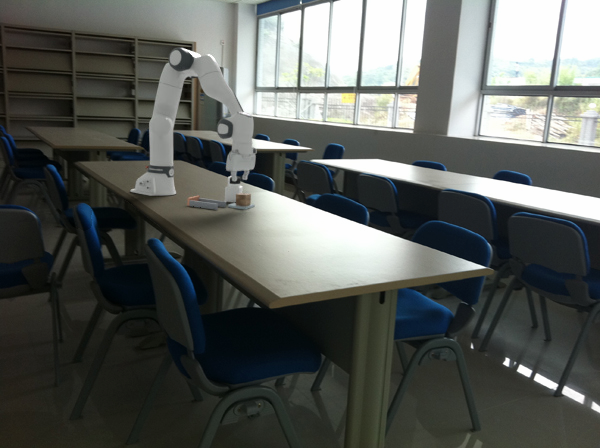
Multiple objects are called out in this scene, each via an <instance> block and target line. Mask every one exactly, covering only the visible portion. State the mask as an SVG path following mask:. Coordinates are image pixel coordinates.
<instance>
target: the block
mask: <svg viewBox="0 0 600 448" xmlns="http://www.w3.org/2000/svg"><path fill="white" fill-rule="evenodd" d="M251 195H252V194H251V193H246V192H242V193H238V194H236V205H239V206H248V205H250V204H252V203H251V202H252V201H251V200H252V198H251V197H252V196H251Z"/></svg>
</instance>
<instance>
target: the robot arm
mask: <svg viewBox="0 0 600 448" xmlns="http://www.w3.org/2000/svg"><path fill="white" fill-rule="evenodd" d="M187 78H189V79H198V81H199V84H200V87H201V89H202V90H203V92H204V94H205V95H206V96H208V97H209V98H211V99H214V100H216V101H217V102H220V103H221V104H223V105H224V106H225V107H226V108H227V110H228V111H229V113H230V116H228V117H225V118H221V119H220V120H219V121H218V123H217V125H216V133H217V135H218V137H219V138H220V139H222V140H225V141H226V140H227V141H231V142H232V144H231V150H230V151H229V153H228V154H227V158H226V165H225V169H226V170H225V171H227V172H230V176H232V181H237V177H236V176H237V172H242V171H243V175H242V180H245V181H247V180H248V176H249V174H250V171H252V170H254V169H255V165H256V158H257V157H256V156H257V155H256V154H257V151H258V150H257V148H256V147H254V145H253V135H254V127H255V126H254V124H255V123H254V118H253V115H252V114H250V113H248V112H245V111H244V109H243V107H242V105H241V103H240V101H239V99H238V97H237V95H236V93H235V92H234V91H233V90H232V88H231V87H230V86H229V84H228V82H227V81H226V79H225V77H224V75H223V72H222V69H221V68H220V65H219V63H218V62H217V60H216V58H215V57H214V56H212V55H211V54H203V55H201V54H200V53H197V52H196V51H193V50H190V49H186V48H184V47H174V48H173V49H172V50H171V51H170V53H169V54H168V62H166V63H165V65H164V67H163V69H162V72H161V75H160V77H159V81H158V87H157V90H156V95H155V99H154V106H153V112H152V117H151V119H150V120H149V124H148V126H149V127H148V129H149V132H148V134H149V135H148V137H149V164H148V165H145V168H146V169H147V170H146V172H145V173H144V174H142V175H141V176H140V177H138V178H137V179H136V180H135V188H132V189H130V193H135V194H140V195H144V196H150V197H151V196H173V195H176V194H177V191H176V188H175V180H174V175H175V165H174V128H175V123H176V120H177V119H176V117H177V113H178V109H179V104H180V101H181V96H182V91H183V88H184V87H183V86H184V83H185V80H186V79H187Z"/></svg>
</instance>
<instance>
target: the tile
mask: <svg viewBox="0 0 600 448" xmlns="http://www.w3.org/2000/svg"><path fill="white" fill-rule="evenodd" d="M254 207H255V204H254V203H250V205H248V206H239V205H236V203H235V202H232V203H230V204H227V208H233V209H240V210H248V209H252V208H254Z"/></svg>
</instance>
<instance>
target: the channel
mask: <svg viewBox="0 0 600 448" xmlns="http://www.w3.org/2000/svg"><path fill="white" fill-rule="evenodd" d="M227 203H228V202H226V201H225V200H219V199H218V200H217V199H212V198H211V199H210V198H203V197H202V198H201V197H200V195H195V196H190V197H187V206H188V207H193V206H194V207H195V208H200V207H201V209H209V210H216V211H217V210H218V209H219V208H227V205H228V204H227ZM218 211H219V210H218Z"/></svg>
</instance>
